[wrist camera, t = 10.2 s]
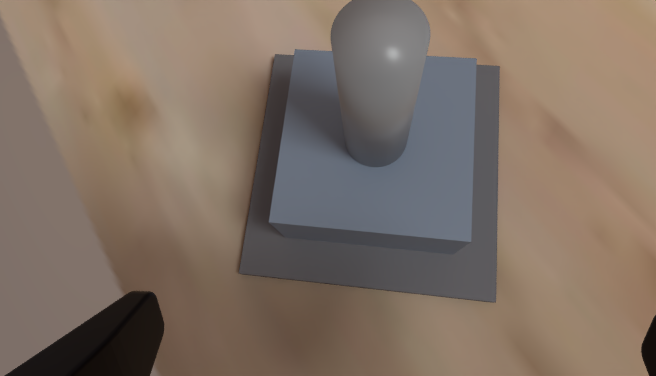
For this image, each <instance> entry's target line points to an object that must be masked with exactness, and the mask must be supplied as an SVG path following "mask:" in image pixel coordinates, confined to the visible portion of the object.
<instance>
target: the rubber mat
mask: <svg viewBox="0 0 656 376" xmlns="http://www.w3.org/2000/svg"><path fill="white" fill-rule="evenodd" d="M293 59H294V55H279V54H275V57H274V63H273V70H272V76H271V82H270V88H269V94H268V100H267V106H266V112H265V118H264V124H263V130H262V136H261V142H260V148H259V154H258V160H257V166H256V172H255V178H254V184H253V190H252V196H251V203H250V209H249V215H248V221H247V227H246V233H245V239H244V245H243V251H242V257H241V263H240V269H239V273H240V274H245V275H254V276H263V277H272V278H281V279H289V280H298V281H307V282H316V283H325V284H334V285H343V286H351V287H360V288H369V289H378V290H387V291H396V292H405V293H414V294H422V295H431V296H440V297H449V298H458V299H467V300H476V301H484V302H496V271H497V204H498V137H499V70H500V66H489V65H476V96H475V130H474V163H473V197H472V230H471V242H470V243H469V244H468V245H466V246H465V247H463V248H462V249H460V250H459V251H457V252H456V253H455V254H443V253H433V252H423V251H414V250H404V249H394V248H384V247H374V246H364V245H354V244H344V243H334V242H325V241H315V240H305V239H295V238H286V237H284V236H283V235H282V234H281V233H280V232H279V231H278V230H277V229H276V228H275V227H273V226H272V225H271V224H270V223H269V217H270V210H271V204H272V197H273V191H274V184H275V178H276V171H277V164H278V158H279V151H280V145H281V138H282V132H283V125H284V118H285V112H286V105H287V99H288V92H289V85H290V79H291V72H292V66H293Z"/></svg>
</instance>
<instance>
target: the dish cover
mask: <svg viewBox="0 0 656 376" xmlns="http://www.w3.org/2000/svg"><path fill="white" fill-rule="evenodd" d="M429 42H430V26H429V23H428V20H427V18H426V16H425V14H424V12H423V11H422V10H421V8H420V7H419V6H418V5H417V4H415V3H414V2H413V1H411V0H352V1H351V2H349V3H348V4H347V5H345V6H344V7H343V8H342V9H341V11H340V12H339V13H338V15H337V16H336V18H335V20H334V22H333V25H332V29H331V45H332V51H317V50H297V49H295V53H294V59H293V66H292V72H291V79H290V85H289V92H288V99H287V105H286V112H285V118H284V125H283V132H282V138H281V145H280V151H279V158H278V164H277V171H276V178H275V184H274V191H273V197H272V204H271V210H270V217H269V223H270V224H271V225H272V226H273V227H275V228H276V229H277V230H278V231H279V232H280V233H281V234H282V235H283V236H284V237H286V238H295V239H305V240H315V241H325V242H334V243H344V244H354V245H364V246H374V247H384V248H394V249H404V250H414V251H423V252H433V253H443V254H455V253H456V252H457V251H459V250H460V249H462V248H463V247H465V246H466V245H468V244H469V243H470V242H471V230H472V197H473V163H474V130H475V96H476V62H477V59H475V58H456V57H436V56H426V55H427V51H428V46H429Z"/></svg>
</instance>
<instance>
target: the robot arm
mask: <svg viewBox="0 0 656 376" xmlns="http://www.w3.org/2000/svg"><path fill="white" fill-rule="evenodd" d="M163 333H164V321H163V317H162V314H161V311H160V307H159V304H158V300H157V297H156V295H155V294H154V293H153V292H150V291H132V292H130V293H128V294H126V295H125V296H123V297H122V298H120V299H119V300H117V301H116V302H114V303H113V304H111V305H110V306H109V307H107V308H105V309H104V310H103V311H101V312H99V313H98V314H96V315H95V316H93V317H92V318H90V319H89V320H87V321H86V322H84V323H83V324H81V325H80V326H78V327H77V328H75V329H74V330H72V331H71V332H69V333H68V334H66V335H65V336H63V337H62V338H60V339H59V340H57V341H56V342H54V343H53V344H51V345H50V346H48V347H47V348H46V349H44V350H42V351H41V352H39V353H38V354H36V355H35V356H33V357H32V358H30V359H29V360H27V361H26V362H25V363H23V364H22V365H20V366H18V367H17V368H15V369H14V370H13V371H11V372H10V373H8V374H7V375H5V376H150V374H151V371H152V368H153V364H154V361H155V358H156V355H157V352H158V349H159V346H160V343H161V340H162V337H163ZM641 352H642V358H643V361H644V364H645V366H646V369H647V371H648V374H649V376H656V315H655V316H654V318H653V320H652V323H651V325H650V327H649V329H648V332H647V334H646V336H645V338H644V341H643V343H642V348H641Z"/></svg>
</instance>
